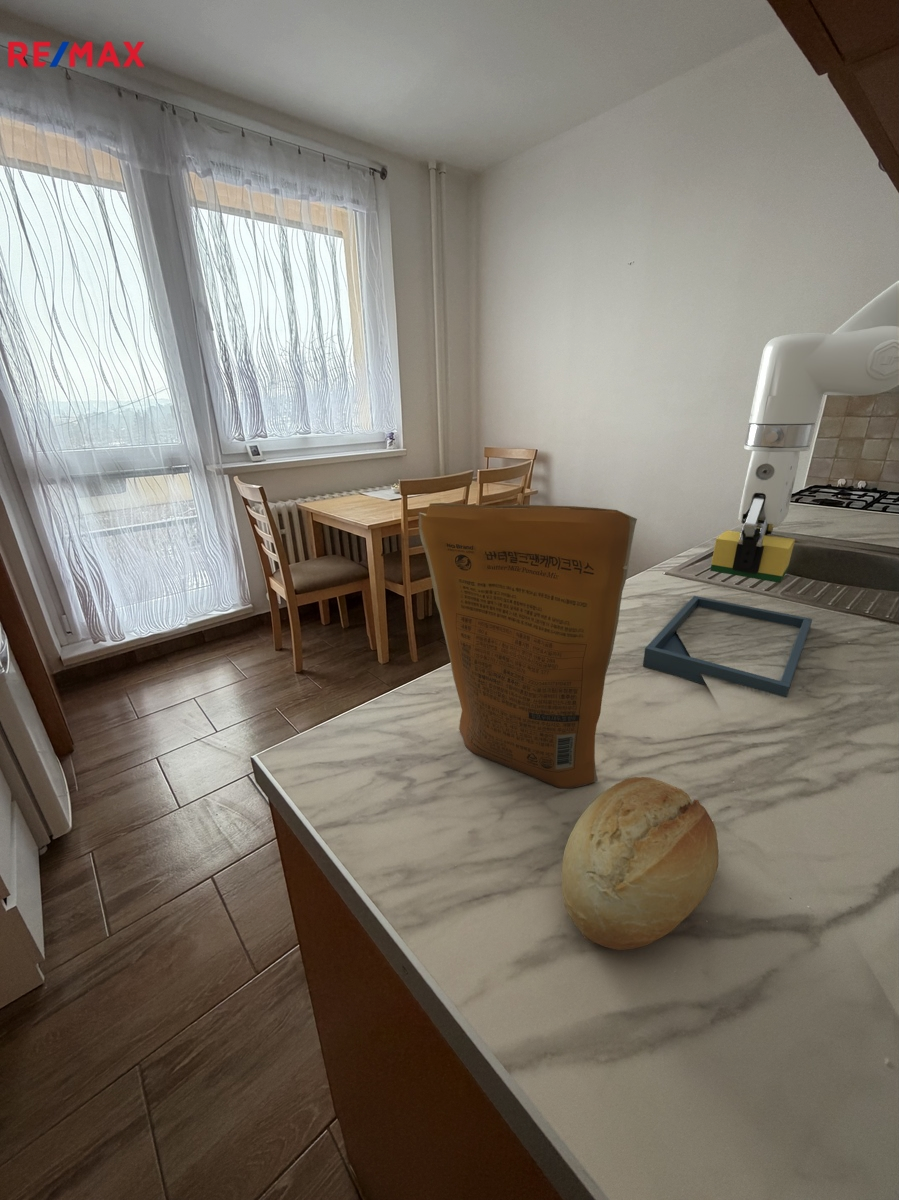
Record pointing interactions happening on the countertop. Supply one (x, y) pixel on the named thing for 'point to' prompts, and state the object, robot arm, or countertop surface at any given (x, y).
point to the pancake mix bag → (529, 626)
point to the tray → (675, 660)
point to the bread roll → (638, 863)
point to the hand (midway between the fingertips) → (749, 564)
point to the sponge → (771, 561)
